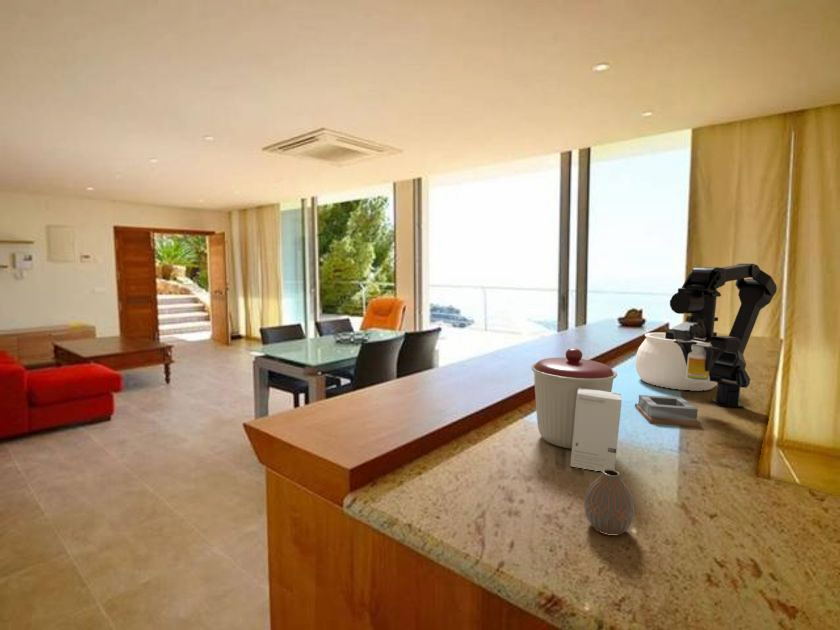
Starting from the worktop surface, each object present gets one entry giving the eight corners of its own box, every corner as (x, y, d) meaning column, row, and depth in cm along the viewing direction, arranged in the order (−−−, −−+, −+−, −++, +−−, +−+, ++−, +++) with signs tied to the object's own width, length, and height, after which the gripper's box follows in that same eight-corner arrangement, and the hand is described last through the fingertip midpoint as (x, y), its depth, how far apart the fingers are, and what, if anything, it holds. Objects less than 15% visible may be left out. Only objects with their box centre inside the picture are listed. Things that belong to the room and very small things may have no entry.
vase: (575, 516, 73) (578, 462, 72) (617, 515, 74) (621, 462, 73) (595, 542, 66) (599, 483, 65) (642, 541, 67) (646, 482, 66)
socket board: (634, 406, 133) (635, 393, 132) (680, 410, 131) (681, 396, 130) (649, 422, 119) (650, 407, 119) (700, 426, 117) (702, 411, 116)
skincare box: (570, 468, 91) (574, 393, 89) (572, 456, 96) (576, 386, 95) (616, 476, 88) (622, 399, 86) (616, 464, 93) (621, 391, 92)
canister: (512, 440, 105) (516, 347, 103) (551, 422, 118) (555, 339, 116) (591, 464, 93) (598, 360, 90) (624, 441, 106) (631, 349, 104)
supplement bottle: (711, 383, 127) (714, 347, 126) (689, 381, 128) (692, 346, 127) (703, 378, 132) (706, 344, 131) (682, 377, 133) (685, 343, 132)
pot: (742, 395, 148) (747, 344, 146) (657, 393, 148) (661, 342, 146) (691, 375, 176) (694, 331, 174) (620, 373, 176) (623, 330, 175)
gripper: (652, 310, 134) (648, 363, 136) (712, 317, 117) (707, 378, 118) (682, 309, 138) (677, 361, 139) (744, 316, 120) (738, 376, 122)
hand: (697, 369), depth 130 cm, fingers closed on supplement bottle, 5 cm apart
